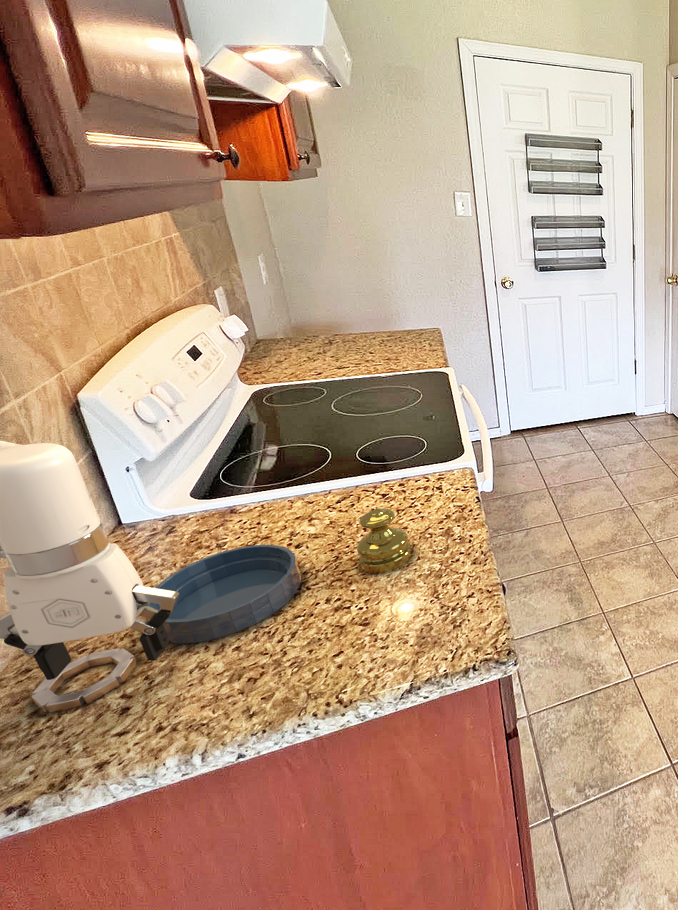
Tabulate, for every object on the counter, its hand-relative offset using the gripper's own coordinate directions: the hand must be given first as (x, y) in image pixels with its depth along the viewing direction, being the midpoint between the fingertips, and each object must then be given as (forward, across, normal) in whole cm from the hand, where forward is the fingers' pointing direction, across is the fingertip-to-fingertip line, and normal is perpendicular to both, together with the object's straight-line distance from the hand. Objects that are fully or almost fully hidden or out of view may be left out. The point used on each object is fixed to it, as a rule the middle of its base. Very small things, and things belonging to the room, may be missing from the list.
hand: (110, 661), depth 72 cm
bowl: (+3, +8, +12) cm, 15 cm away
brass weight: (+3, +28, +16) cm, 32 cm away
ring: (+3, -3, 0) cm, 4 cm away
